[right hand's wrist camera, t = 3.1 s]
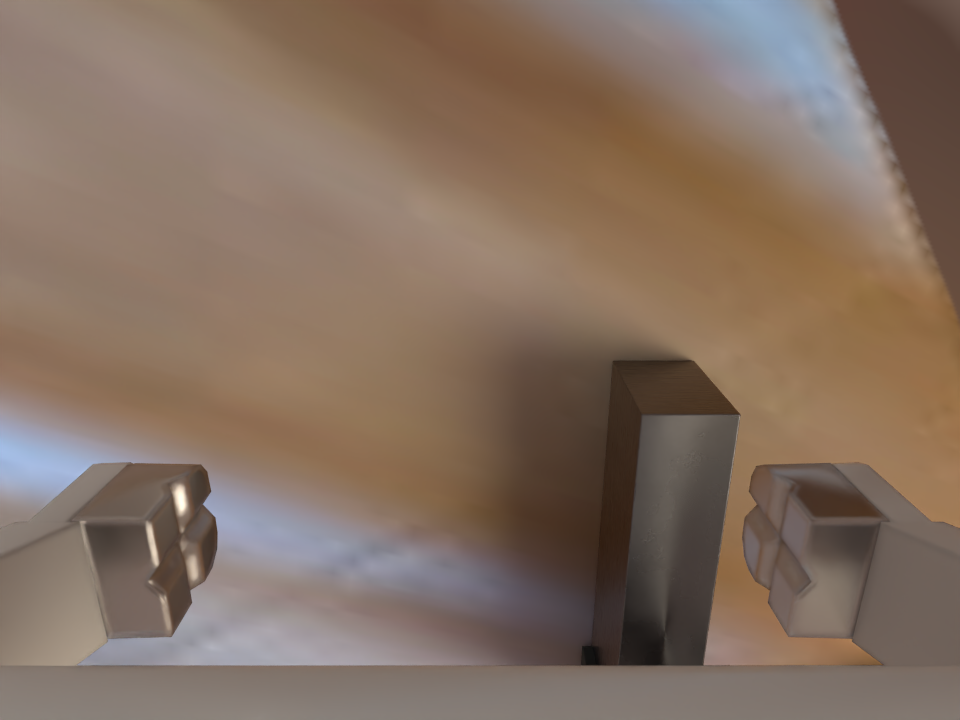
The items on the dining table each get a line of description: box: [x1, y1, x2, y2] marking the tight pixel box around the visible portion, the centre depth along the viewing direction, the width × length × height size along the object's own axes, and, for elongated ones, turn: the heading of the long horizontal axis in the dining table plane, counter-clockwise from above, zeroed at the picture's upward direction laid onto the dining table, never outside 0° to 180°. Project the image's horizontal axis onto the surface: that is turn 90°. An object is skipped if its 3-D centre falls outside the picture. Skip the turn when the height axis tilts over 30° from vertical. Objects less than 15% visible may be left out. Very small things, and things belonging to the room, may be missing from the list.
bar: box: [592, 361, 740, 666], centre depth 42 cm, size 28×5×8 cm, turn 0°
